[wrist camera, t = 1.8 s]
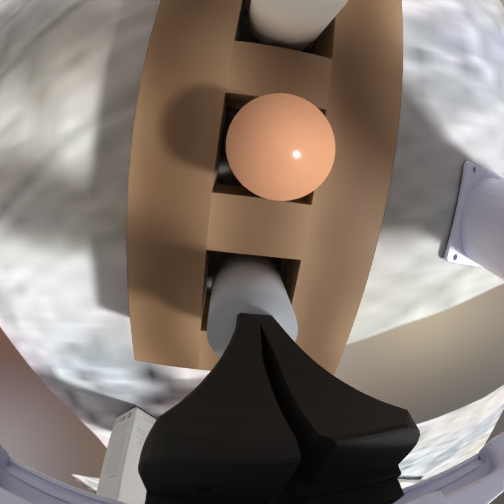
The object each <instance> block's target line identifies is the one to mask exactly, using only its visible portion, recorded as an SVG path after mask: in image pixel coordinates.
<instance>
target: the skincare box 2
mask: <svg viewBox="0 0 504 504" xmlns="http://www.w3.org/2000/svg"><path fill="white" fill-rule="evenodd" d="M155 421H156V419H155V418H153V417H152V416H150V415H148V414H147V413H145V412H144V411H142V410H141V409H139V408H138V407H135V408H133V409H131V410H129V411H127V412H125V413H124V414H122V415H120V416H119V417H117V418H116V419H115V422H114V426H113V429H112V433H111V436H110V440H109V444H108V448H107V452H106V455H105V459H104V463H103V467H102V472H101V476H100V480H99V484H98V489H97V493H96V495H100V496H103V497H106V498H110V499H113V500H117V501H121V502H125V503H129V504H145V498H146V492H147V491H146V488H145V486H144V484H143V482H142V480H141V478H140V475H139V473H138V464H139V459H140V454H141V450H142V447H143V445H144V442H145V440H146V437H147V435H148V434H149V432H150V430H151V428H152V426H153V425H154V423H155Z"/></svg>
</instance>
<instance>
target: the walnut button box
mask: <svg viewBox="0 0 504 504" xmlns="http://www.w3.org/2000/svg"><path fill="white" fill-rule="evenodd" d="M250 4H251V0H161V2H160V5H159V9H158V12H157V15H156V19H155V22H154V26H153V30H152V33H151V37H150V41H149V45H148V50H147V54H146V58H145V63H144V68H143V72H142V78H141V83H140V88H139V94H138V100H137V106H136V113H135V120H134V127H133V136H132V145H131V154H130V166H129V179H128V197H127V280H128V298H129V311H130V323H131V333H132V342H133V350H134V358H135V360H136V361H142V362H148V363H154V364H160V365H167V366H175V367H182V368H191V369H200V370H210V371H211V370H212V369H213V368H214V366H215V365H216V364H217V362H218V361H219V359H220V357H219V356H218V355H217V354H216V353H215V352H214V351H213V350H212V348H211V346H210V345H209V342H208V339H207V323H208V315H209V307H210V298H211V295H206V288H207V275H208V263H209V252H210V250H211V251H220V252H230V253H239V254H249V255H258V256H268V257H278V258H282V261H281V266H280V272H279V275H280V277H281V280H282V282H283V285H284V287H285V290H286V293H287V295H288V298H289V300H290V303H291V306H292V308H293V311H294V313H295V316H296V319H297V323H298V334H297V338H296V341H295V343H296V344H297V345H298V346H299V347H300V348H301V349H302V350H303V351H304V352H305V353H306V354H307V355H309V356H310V357H311V358H312V359H313V360H314V361H315V362H316V363H318V364H319V365H320V366H321V367H323V368H324V369H325V370H327V371H328V372H329V373H331V374H334V373H335V371H336V368H337V366H338V363H339V361H340V358H341V356H342V353H343V350H344V348H345V345H346V343H347V340H348V337H349V334H350V332H351V329H352V326H353V323H354V320H355V317H356V314H357V311H358V308H359V305H360V302H361V299H362V296H363V292H364V289H365V286H366V282H367V279H368V276H369V272H370V269H371V265H372V261H373V258H374V254H375V250H376V246H377V242H378V238H379V234H380V230H381V225H382V221H383V216H384V212H385V207H386V202H387V197H388V192H389V187H390V181H391V175H392V169H393V163H394V157H395V150H396V142H397V135H398V126H399V116H400V106H401V93H402V75H403V17H402V0H348V2H347V3H346V5H345V6H344V7H343V8H342V9H341V10H340V11H339V13H338V14H337V15H336V16H335V17H334V18H333V19H332V21H331V22H330V23H329V24H328V25H327V27H326V28H325V29H324V30H323V31H322V33H321V34H320V35H319V36H318V37H317V39H316V40H315V41H314V45H313V54H310V53H306V52H302V51H297V50H292V49H287V48H282V47H276V46H271V45H264V44H258V43H250V42H242V41H238V38H239V32H240V27H241V22H242V17H243V12H244V7H246V8H250ZM273 93H285V94H292V95H295V96H298V97H301V98H303V99H305V100H307V101H309V102H310V103H312V104H313V105H315V106H316V107H317V108H318V109H319V110H320V111H321V112H322V113H323V114H324V116H325V117H326V119H327V120H328V122H329V124H330V126H331V128H332V131H333V134H334V139H335V158H334V162H333V165H332V168H331V170H330V172H329V174H328V176H327V177H326V179H325V180H324V182H323V183H322V184H321V185H320V186H319V187H318V188H316V189H315V190H314V191H312V192H311V193H309V194H308V195H305V196H303V197H301V198H298V199H294V200H288V201H276V200H270V199H266V198H263V197H260V196H258V195H256V194H254V193H253V192H251V191H249V190H248V189H247V188H246V187H244V186H236V185H227V184H218V183H217V176H218V168H219V160H220V152H221V145H222V137H223V130H224V123H225V116H226V109H227V108H236V109H241V108H242V107H243V106H245V105H246V104H247V103H249V102H250V101H252V100H254V99H256V98H258V97H260V96H263V95H267V94H273Z"/></svg>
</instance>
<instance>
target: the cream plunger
mask: <svg viewBox="0 0 504 504" xmlns="http://www.w3.org/2000/svg"><path fill="white" fill-rule="evenodd" d="M347 2H348V0H251V4H250V10H249V17H248V24H249V28H250V30H251V32H252V34H253V35H254V37H255V38H256V39H257V40H258V41H260V42H261V43H262V44H264V45H271V46H276V47H282V48H287V49H292V50H297V51H298V50H302V49H304V48H307V47H308V46H310V45H311V44H312V43H313V42H314V41H315V40H316V39H317V37H318V36H319V35H320V34H321V33H322V31H323V30H324V29H325V28H326V27H327V25H328V24H329V23H330V22H331V21H332V19H333V18H334V17H335V16H336V15H337V14H338V13H339V11H340V10H341V9H342V8H343V7H344V6H345V5H346V3H347Z"/></svg>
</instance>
